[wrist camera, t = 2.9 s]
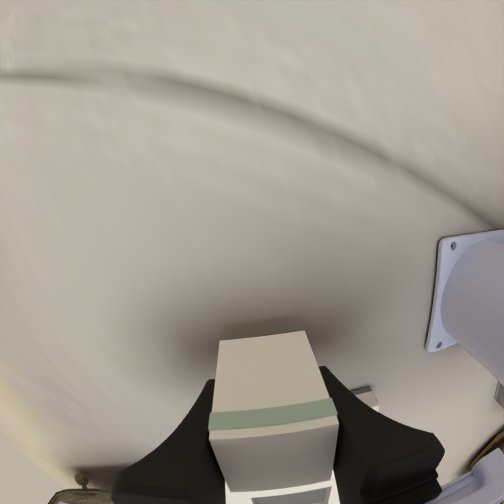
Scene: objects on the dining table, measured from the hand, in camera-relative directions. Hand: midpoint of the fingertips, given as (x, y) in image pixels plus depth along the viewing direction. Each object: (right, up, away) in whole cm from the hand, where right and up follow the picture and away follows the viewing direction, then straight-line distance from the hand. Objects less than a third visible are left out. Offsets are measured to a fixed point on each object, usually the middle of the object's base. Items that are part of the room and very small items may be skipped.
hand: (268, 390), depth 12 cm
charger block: (0, 0, +2) cm, 2 cm away
